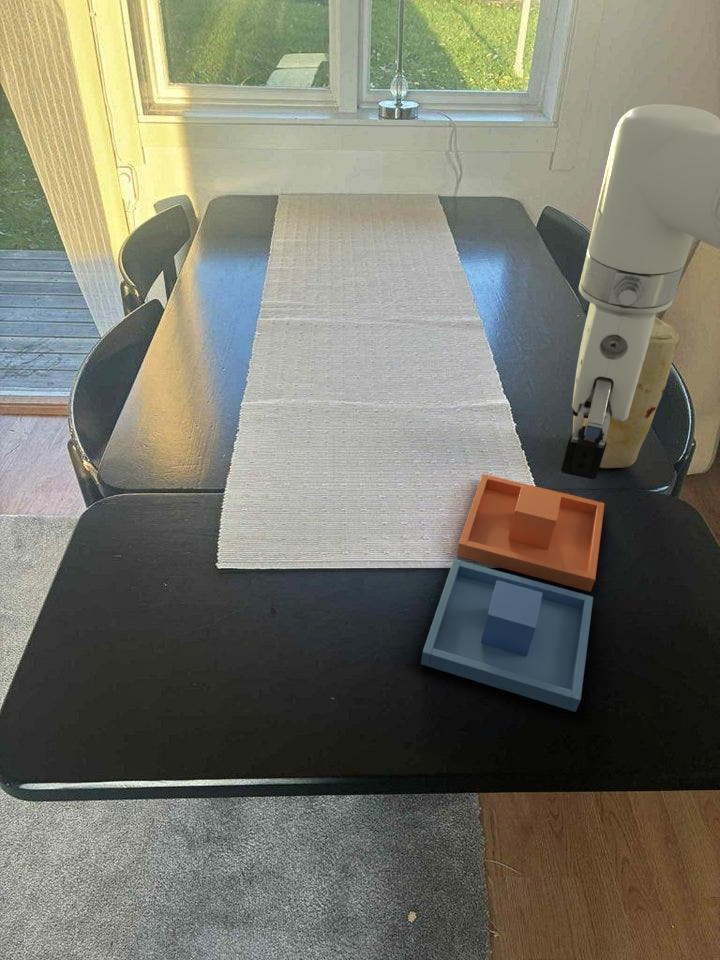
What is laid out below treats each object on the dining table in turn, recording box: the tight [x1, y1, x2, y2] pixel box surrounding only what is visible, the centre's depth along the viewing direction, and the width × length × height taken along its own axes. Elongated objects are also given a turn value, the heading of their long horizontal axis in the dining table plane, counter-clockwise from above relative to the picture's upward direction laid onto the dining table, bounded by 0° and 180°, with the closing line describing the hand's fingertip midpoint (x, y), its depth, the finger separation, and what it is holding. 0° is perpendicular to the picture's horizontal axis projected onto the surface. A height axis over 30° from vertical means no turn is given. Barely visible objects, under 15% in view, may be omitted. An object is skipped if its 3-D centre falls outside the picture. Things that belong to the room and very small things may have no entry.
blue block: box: [481, 580, 543, 656], centre depth 68 cm, size 4×4×4 cm
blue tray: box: [420, 558, 594, 713], centre depth 69 cm, size 15×13×2 cm
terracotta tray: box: [456, 473, 605, 593], centre depth 80 cm, size 15×13×2 cm
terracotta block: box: [508, 486, 562, 550], centre depth 79 cm, size 4×4×4 cm
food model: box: [572, 316, 681, 469], centre depth 85 cm, size 10×7×20 cm
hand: (583, 444), depth 68 cm, fingers open, 9 cm apart
